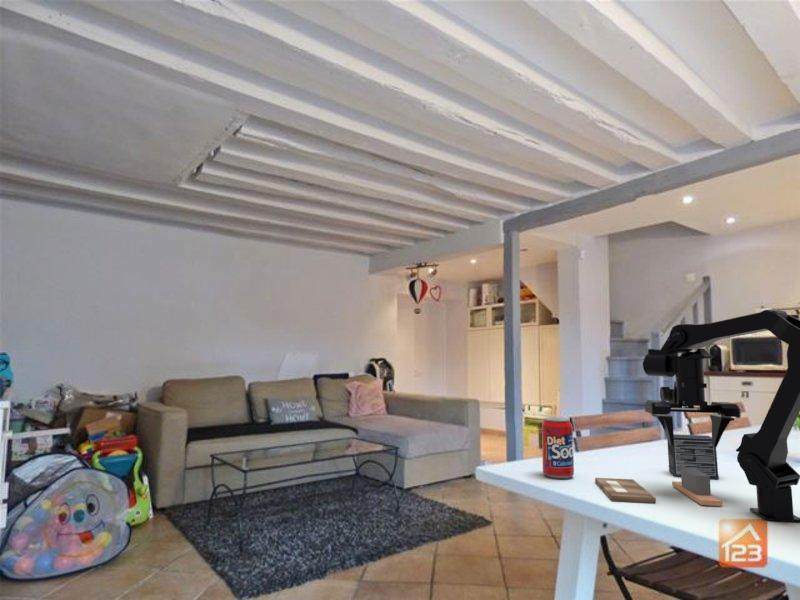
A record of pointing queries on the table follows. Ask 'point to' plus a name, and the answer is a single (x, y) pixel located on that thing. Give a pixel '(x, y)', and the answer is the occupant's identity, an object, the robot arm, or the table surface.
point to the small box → (693, 455)
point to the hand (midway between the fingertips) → (692, 446)
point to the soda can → (557, 448)
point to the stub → (696, 487)
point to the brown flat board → (624, 490)
